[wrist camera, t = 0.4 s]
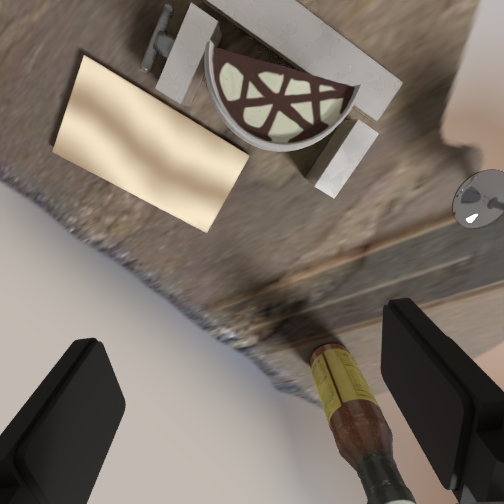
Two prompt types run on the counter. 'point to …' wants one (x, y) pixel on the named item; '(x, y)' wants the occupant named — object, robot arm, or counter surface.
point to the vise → (291, 50)
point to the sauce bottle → (358, 425)
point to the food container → (274, 100)
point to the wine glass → (480, 200)
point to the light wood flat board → (147, 147)
